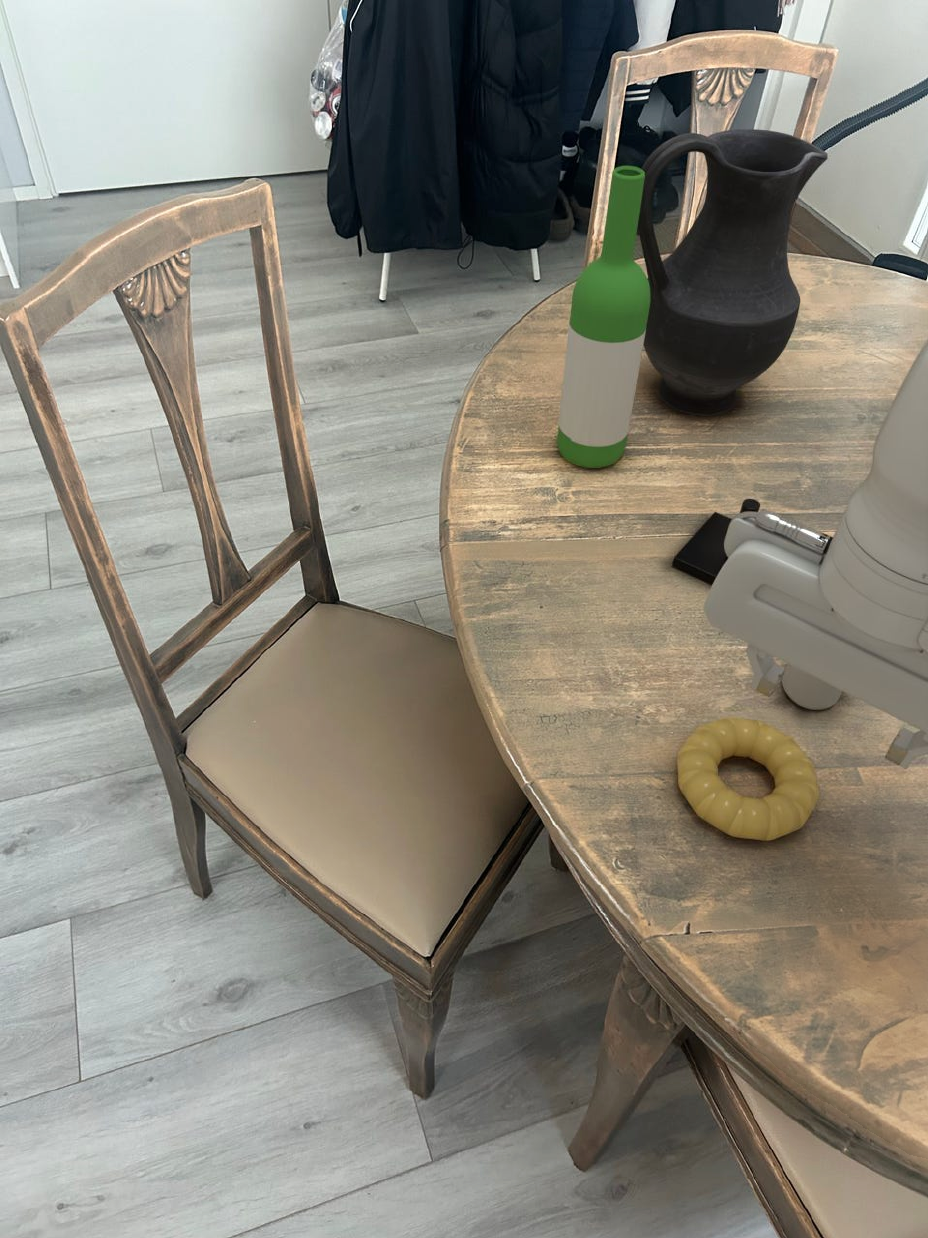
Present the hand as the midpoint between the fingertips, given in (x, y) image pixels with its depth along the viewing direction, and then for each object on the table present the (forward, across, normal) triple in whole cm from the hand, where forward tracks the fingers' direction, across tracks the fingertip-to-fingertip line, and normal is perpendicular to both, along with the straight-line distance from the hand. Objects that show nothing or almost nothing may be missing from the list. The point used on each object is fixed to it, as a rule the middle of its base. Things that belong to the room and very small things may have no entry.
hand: (828, 721), depth 59 cm
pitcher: (+12, -33, +48) cm, 60 cm away
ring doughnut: (+10, -3, 0) cm, 10 cm away
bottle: (+12, -36, +31) cm, 49 cm away
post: (+11, -15, +24) cm, 31 cm away
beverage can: (+11, -3, +12) cm, 17 cm away
